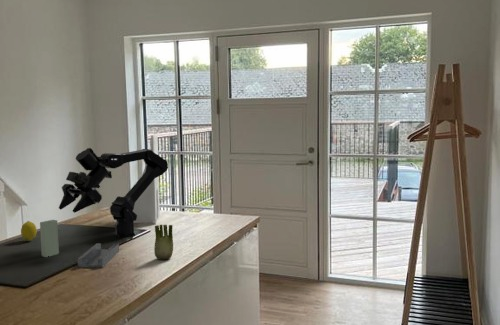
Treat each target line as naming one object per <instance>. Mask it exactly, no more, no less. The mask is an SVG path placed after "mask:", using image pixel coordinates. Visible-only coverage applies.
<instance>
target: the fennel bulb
mask: <svg viewBox="0 0 500 325" xmlns="http://www.w3.org/2000/svg"><path fill="white" fill-rule="evenodd" d="M154 232H155V241H154V247H153V248H154V256H155V258H156V259H158V260H168V259H171V258H172V255H173V252H174V239H173V238H174V236H173V224H156V225H154Z"/></svg>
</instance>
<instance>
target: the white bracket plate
mask: <svg viewBox="0 0 500 325" xmlns="http://www.w3.org/2000/svg"><path fill="white" fill-rule="evenodd" d="M158 135H159V134H158V133H154V134H152V135H151V134H150V146H151V147H150V148H151V149H150V150H152V151H153V152H154V153H155V154H157V155H159V145H158V144H159V143H158V141H159V140H158ZM146 166H147V164H145V166H144V169H143V172H142V174H141V176H142V175H143V174H144V173H145V172H146ZM159 178H160V176H159V177H157V178H155V179H154V180H153V181H152V183H151V184H150V185H149V186H148V187H147V189H146V190H145V191H144V192H143V193H142V195H141V196H140V197H139V198H138V199H137V201H136V202H135V204H134V210H133V212H134V213H135V214H136V215H137V218H136V221H134V224H140V223H153V225H154V226H156V225H157V223H158V219H159V217H160V184H159V183H160V179H159Z"/></svg>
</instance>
